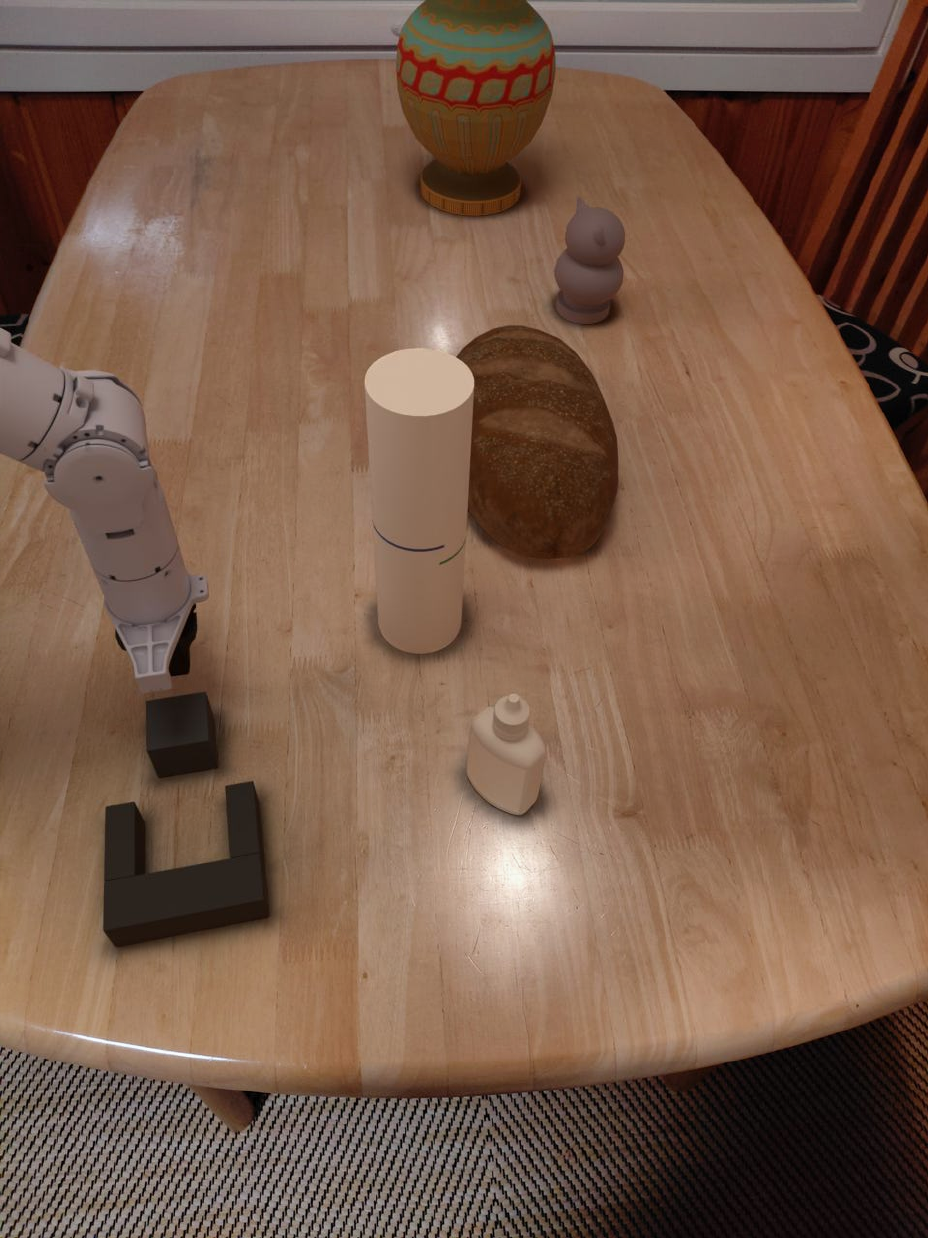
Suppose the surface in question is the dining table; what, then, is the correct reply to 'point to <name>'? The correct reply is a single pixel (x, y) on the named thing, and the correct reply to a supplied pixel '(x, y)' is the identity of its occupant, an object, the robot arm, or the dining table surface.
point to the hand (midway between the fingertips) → (175, 669)
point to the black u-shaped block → (183, 877)
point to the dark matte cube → (181, 734)
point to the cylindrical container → (419, 493)
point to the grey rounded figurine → (589, 265)
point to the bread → (538, 444)
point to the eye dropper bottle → (506, 755)
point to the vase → (474, 96)
